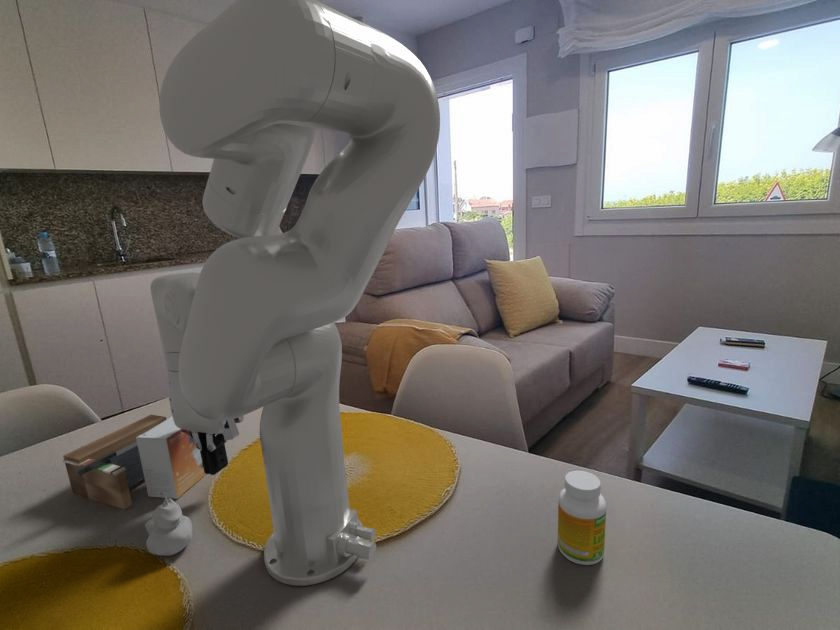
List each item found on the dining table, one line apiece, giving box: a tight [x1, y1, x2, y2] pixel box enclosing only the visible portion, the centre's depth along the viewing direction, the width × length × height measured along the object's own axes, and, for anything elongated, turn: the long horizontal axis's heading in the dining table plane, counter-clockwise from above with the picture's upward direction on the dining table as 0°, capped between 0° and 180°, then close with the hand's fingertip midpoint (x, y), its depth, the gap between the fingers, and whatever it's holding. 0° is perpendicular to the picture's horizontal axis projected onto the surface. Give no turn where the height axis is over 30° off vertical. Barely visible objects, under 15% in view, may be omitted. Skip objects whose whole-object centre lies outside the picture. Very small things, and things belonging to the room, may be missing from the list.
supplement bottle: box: [557, 470, 607, 566], centre depth 52 cm, size 5×5×10 cm
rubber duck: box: [144, 497, 193, 557], centre depth 57 cm, size 5×7×8 cm
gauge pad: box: [75, 441, 145, 488], centre depth 72 cm, size 3×16×6 cm, turn 159°
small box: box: [136, 415, 208, 500], centre depth 71 cm, size 8×6×10 cm
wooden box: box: [62, 414, 168, 510], centre depth 74 cm, size 12×16×7 cm
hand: (216, 469), depth 67 cm, fingers closed
